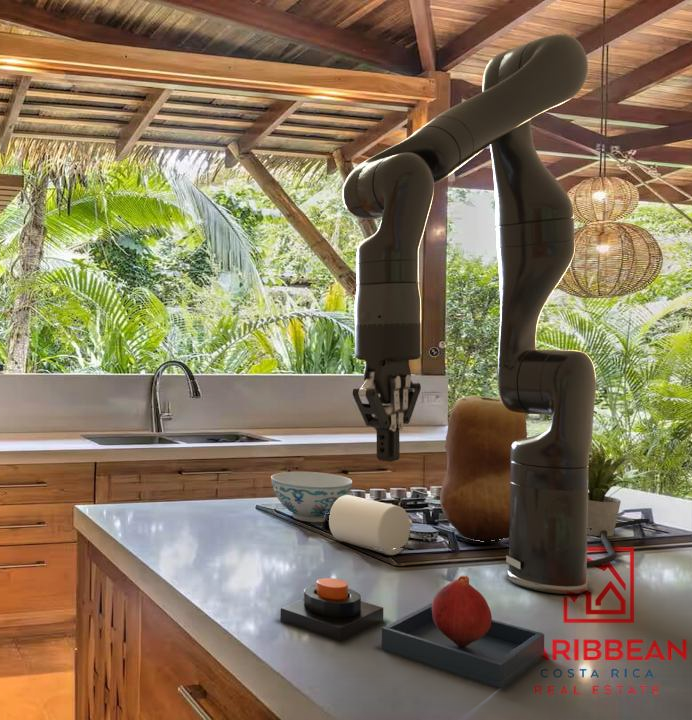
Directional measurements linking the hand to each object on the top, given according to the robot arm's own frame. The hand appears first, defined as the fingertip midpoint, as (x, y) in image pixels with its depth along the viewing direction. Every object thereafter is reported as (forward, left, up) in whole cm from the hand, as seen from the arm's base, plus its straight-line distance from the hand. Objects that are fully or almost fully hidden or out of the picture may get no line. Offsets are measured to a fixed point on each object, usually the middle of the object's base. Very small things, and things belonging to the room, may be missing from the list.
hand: (388, 460), depth 91 cm
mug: (-29, -17, -20) cm, 39 cm away
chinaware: (-38, -35, -20) cm, 55 cm away
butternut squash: (-46, -7, -20) cm, 51 cm away
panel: (+7, -4, -20) cm, 21 cm away
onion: (+4, +10, -19) cm, 22 cm away
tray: (+4, +10, -20) cm, 23 cm away
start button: (+7, -4, -17) cm, 18 cm away
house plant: (-67, +5, -20) cm, 70 cm away
